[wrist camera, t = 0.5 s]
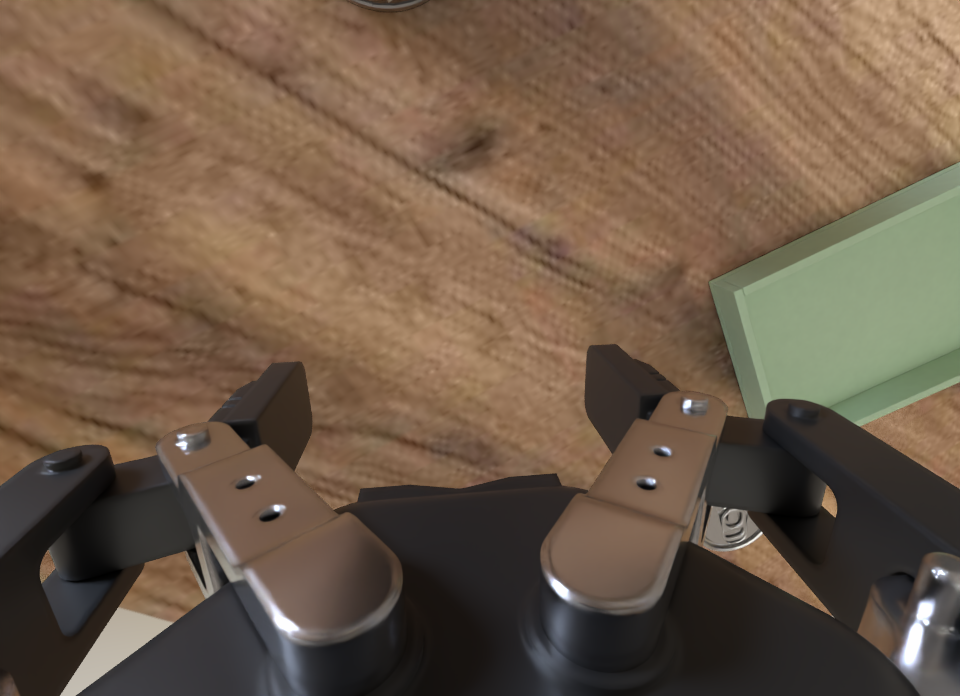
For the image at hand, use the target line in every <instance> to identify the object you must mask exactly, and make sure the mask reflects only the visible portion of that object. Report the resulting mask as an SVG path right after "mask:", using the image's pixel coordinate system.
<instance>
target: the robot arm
mask: <svg viewBox="0 0 960 696" xmlns="http://www.w3.org/2000/svg"><path fill="white" fill-rule="evenodd" d="M347 1H349V2H351V3H353V4H355V5H358V6H360V7H363V8H366V9H370V10H375V11H382V12H397V11H404V10H408V9H412V8H415V7H417V6H420V5H422V4H424V3H426V2H427V1H429V0H347ZM585 408H586V412H587V415H588V418H589V419H590V421H591V422H592V424H593V425H594V427H595V428H596V430H597V431H598V433H599V434H600V436H601V438H602V439H603V441H604V442H605V444H606V445H607V447H608V448H609V450H610V451H611V453H612V456H611V457H610V459H609V460H608V462H607V463H606V465H605V466H604V468H603V470H602V471H601V473H600V474H599V476H598V477H597V479H596V480H595V482H594V483H593V485H592V486H591V488H590V489H589V491H588V490H584V489H580V488H574V487H568V486H562V485H561V483H560V481H559V478H558V476H557V474H543V475H530V476H517V477H508V478H504V479H500V480H496V481H491V482H487V483H483V484H479V485H475V486H471V487H467V488H461V489H455V488H442V487H430V486H418V485H402V486H389V487H376V488H363V489H360V493H359V497H358V502H356V503H352V504H349V505H346V506H343V507H340V508H337V509H335V510H333V509H332V508H331V507H330V506H329V505H328V504H327V503H326V502H325V501H324V500H323V499H322V498H321V497H320V496H319V495H318V494H317V493H316V492H315V491H314V490H313V489H312V488H311V487H310V486H309V485H308V484H307V483H306V482H305V481H303V480H302V479H301V478H300V477H299V476H298V475H297V474H296V473H295V472H294V470H295V468H296V466H297V464H298V462H299V460H300V458H301V455H302V453H303V451H304V449H305V447H306V445H307V443H308V441H309V438H310V436H311V432H312V412H311V405H310V399H309V392H308V386H307V380H306V373H305V369H304V366H303V364H302V362H300V361H299V362H281V363H272V364H271V365H270V366H269V367H268V368H267V370H266V371H265V372H264V373H263V374H262V375H261V376H260V378H259V379H258V380H257V381H252V382H250V383H248V384H246V385H245V386H243V387H241V388H239V389H237V390H236V391H235V393H234V394H233V395H232V396H231V397H230V398H229V400H227V401H226V402H225V403H224V404H223V406H222V408H220V409H219V410H218V411H217V412H216V413H215V414H214V415H213V416H212V417H211V419H210V420H209V421H208V422H202V423H196V424H192V425H188V426H185V427H182V428H179V429H177V430H174V431H172V432H170V433H168V434H167V435H165V436H164V437H162V438H161V439H160V440H159V441H158V442H157V444H156V447H155V448H156V451H157V455H156V456H152V457H148V458H143V459H139V460H134V461H129V462H125V463H120V464H116V465H114V464H113V461H112V458H111V455H110V452H109V449H108V448H107V447H105V446H102V445H83V446H77V447H72V448H67V449H63V450H59V451H56V452H54V453H52V454H49V455H47V456H44V457H42V458H40V459H38V460H36V461H34V462H32V463H31V464H29V465H27V466H26V467H25V468H23V469H22V470H21V471H19V472H18V473H17V474H15V475H14V476H13V477H12V478H10V479H9V480H8V481H6V482H5V483H4V484H2V485H1V486H0V696H60V695H61V693H62V692H63V690H64V688H65V687H66V685H67V684H68V682H69V681H70V679H71V678H72V676H73V675H74V673H75V672H76V670H77V669H78V667H79V666H80V664H81V663H82V661H83V660H84V658H85V657H86V655H87V654H88V652H89V651H90V649H91V648H92V646H93V644H94V643H95V641H96V640H97V638H98V637H99V635H100V634H101V632H102V631H103V629H104V628H105V626H106V625H107V623H108V622H109V620H110V619H111V617H112V616H113V614H114V613H115V611H116V610H117V608H118V607H119V605H120V604H121V602H122V601H123V599H124V598H125V596H126V594H127V593H128V591H129V590H130V588H131V587H132V585H133V584H134V582H135V581H136V579H137V578H138V576H139V575H140V573H141V572H142V570H143V568H144V563H145V562H149V561H152V560H156V559H159V558H162V557H166V556H169V555H173V554H176V553H180V552H183V551H185V554H186V558H187V561H188V563H189V565H190V567H191V569H192V571H193V573H194V575H195V577H196V579H197V582H198V584H199V586H200V588H201V590H202V592H203V594H204V596H205V598H206V599H205V600H204V601H203V602H201V603H200V604H199V605H197V606H196V607H195V608H193V609H192V610H191V611H189V612H188V613H187V614H185V615H184V616H183V617H181V618H180V619H179V620H177V621H176V622H174V623H173V624H172V625H170V626H169V627H168V628H166V629H165V630H164V631H162V632H161V633H160V634H158V635H157V636H156V637H154V638H153V639H152V640H150V641H149V642H148V643H146V644H145V645H144V646H142V647H141V648H139V649H138V650H137V651H135V652H134V653H133V654H131V655H130V656H129V657H127V658H126V659H125V660H123V661H122V662H121V663H119V664H118V665H117V666H115V667H114V668H113V669H111V670H110V671H108V672H107V673H106V674H105V675H103V676H102V677H100V678H99V679H98V680H96V681H95V682H94V683H92V684H91V685H90V686H88V687H87V688H86V689H84V690H83V691H82V692H80V693H79V694H77V695H76V696H960V489H958V488H957V487H955V486H954V485H952V484H950V483H949V482H947V481H946V480H944V479H942V478H941V477H939V476H938V475H936V474H934V473H933V472H931V471H930V470H928V469H926V468H925V467H923V466H922V465H920V464H918V463H917V462H915V461H914V460H912V459H910V458H909V457H907V456H906V455H904V454H902V453H901V452H899V451H898V450H896V449H894V448H893V447H891V446H890V445H888V444H886V443H885V442H883V441H882V440H880V439H878V438H877V437H875V436H874V435H872V434H870V433H869V432H867V431H866V430H864V429H862V428H861V427H859V426H858V425H856V424H854V423H853V422H851V421H850V420H848V419H846V418H845V417H843V416H842V415H840V414H838V413H837V412H835V411H833V410H832V409H830V408H827V407H825V406H822V405H820V404H817V403H813V402H811V401H807V400H800V399H776V400H772V401H770V402H768V404H767V406H766V412H765V417H764V419H755V418H743V417H733V416H727V411H728V407H727V405H726V404H725V403H724V402H723V401H721V400H720V399H718V398H716V397H714V396H711V395H708V394H704V393H700V392H694V391H680V390H679V389H678V388H676V387H675V386H674V385H673V384H672V383H671V382H669V381H668V380H666V378H665V377H663V376H662V375H661V374H659V372H658V371H656V370H655V369H654V368H653V367H652V366H650V365H649V364H646V363H644V362H641V361H639V360H636V359H632V358H631V357H630V356H629V355H628V354H627V353H626V352H624V351H623V350H622V349H621V348H620V347H619V346H618V345H616V344H609V345H591V346H589V348H588V351H587V360H586V379H585ZM826 485H828V486H829V487H830V489H831V490H832V492H833V493H834V495H835V498H836V501H837V515H836V518H835V517H834V516H832V515H831V514H830V513H829V512H828V511H827V510H826V509H825V508H824V507H823V506H821V505H822V501H823V497H824V493H825V489H826ZM712 506H715V507H723V508H731V509H738V510H746V511H747V513H748V515H749V517H750V518H751V520H752V521H753V522H754V523H755V524H756V526H757V527H758V528H759V529H760V530H761V531H762V533H763V534H764V535H765V536H766V537H767V539H768V540H769V541H770V542H771V543H772V544H773V546H774V547H775V548H776V549H777V550H778V552H779V553H780V554H781V555H782V556H783V557H784V559H785V560H786V561H787V562H788V563H789V564H790V566H791V567H792V568H793V569H794V570H795V572H796V573H797V574H798V575H799V576H800V577H801V579H802V580H803V581H804V582H805V583H806V585H807V586H808V587H809V588H810V589H811V590H812V592H813V593H814V594H815V595H816V596H817V598H818V599H819V600H820V601H821V602H822V603H823V605H824V606H825V607H826V608H827V609H828V610H829V612H830V613H831V614H832V615H833V616H834V618H833V617H832V616H830V615H828V614H826V613H825V612H823V611H821V610H819V609H817V608H815V607H813V606H811V605H809V604H808V603H806V602H804V601H802V600H800V599H798V598H796V597H794V596H793V595H791V594H789V593H787V592H785V591H783V590H781V589H779V588H778V587H776V586H774V585H772V584H770V583H768V582H766V581H764V580H762V579H761V578H759V577H757V576H755V575H753V574H751V573H749V572H747V571H746V570H744V569H742V568H740V567H738V566H736V565H734V564H732V563H730V562H729V561H727V560H725V559H723V558H721V557H719V556H717V555H715V554H714V553H712V552H710V551H708V550H706V549H704V548H703V544H704V540H705V536H706V532H707V528H708V524H709V520H710V517H711V512H712ZM47 550H49V552H50V555H51V557H52V560H53V562H54V565H55V567H56V569H55V570H54V571H53V572H52V573H51V574H50V575H49V576H48V578H47V579H46V580H45V581H44V582H43V583H42V584H41V581H40V565H41V562H42V559H43V557H44V555H45V553H46V552H47Z"/></svg>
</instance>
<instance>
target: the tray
mask: <svg viewBox="0 0 960 696" xmlns="http://www.w3.org/2000/svg"><path fill="white" fill-rule="evenodd" d="M709 286H710V289H711V292H712V296H713V299H714V303H715V306H716V309H717V313H718V316H719V319H720V323H721V326H722V329H723V333H724V336H725V340H726V343H727V346H728V350H729V353H730V356H731V360H732V363H733V366H734V370H735V373H736V376H737V380H738V383H739V387H740V390H741V393H742V397H743V400H744V403H745V407H746V410H747V413H748V417H749V418H755V419H764V417H765V412H766V406H767V404H768V402H770V401H772V400H776V399H800V400H807V401H811V402H813V403H817V404H820V405H822V406H825V407H827V408H830V409H832V410H833V411H835V412H837V413H838V414H840V415H842V416H843V417H845V418H846V419H848V420H850V421H851V422H853V423H854V424H856V425H858V426H859V427H860V426H862V425H864V424H866V423H869V422H871V421H873V420H875V419H878V418H880V417H882V416H884V415H887V414H889V413H891V412H893V411H896V410H898V409H900V408H902V407H905V406H907V405H909V404H911V403H914V402H916V401H918V400H920V399H923V398H925V397H927V396H929V395H932V394H934V393H936V392H938V391H941V390H943V389H945V388H947V387H950V386H952V385H954V384H956V383H959V382H960V162H958V163H956V164H954V165H952V166H950V167H948V168H946V169H944V170H942V171H939V172H937V173H935V174H933V175H931V176H929V177H927V178H925V179H923V180H921V181H919V182H916V183H914V184H912V185H910V186H908V187H906V188H904V189H902V190H900V191H898V192H896V193H893V194H891V195H889V196H887V197H885V198H883V199H881V200H879V201H877V202H875V203H872V204H870V205H868V206H866V207H864V208H862V209H860V210H858V211H856V212H854V213H852V214H849V215H847V216H845V217H843V218H841V219H839V220H837V221H835V222H833V223H831V224H829V225H826V226H824V227H822V228H820V229H818V230H816V231H814V232H812V233H810V234H808V235H805V236H803V237H801V238H799V239H797V240H795V241H793V242H791V243H789V244H787V245H785V246H782V247H780V248H778V249H776V250H774V251H772V252H770V253H768V254H766V255H764V256H762V257H759V258H757V259H755V260H753V261H751V262H749V263H747V264H745V265H743V266H741V267H738V268H736V269H734V270H732V271H730V272H728V273H726V274H724V275H722V276H720V277H718V278H715V279H713V280H711V281H709Z"/></svg>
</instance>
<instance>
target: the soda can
mask: <svg viewBox="0 0 960 696" xmlns="http://www.w3.org/2000/svg"><path fill="white" fill-rule="evenodd" d="M762 534H763V533H762V531H761V530H760V529H759V528H758V527H757V526H756V524H755V523H754V522H753V521H752V520H751V518H750V517H749V515H748V513H747V511H746V510H738V509H731V508H723V507H715V506H712V512H711V517H710V520H709V524H708V528H707V532H706V536H705V540H704V544H703V546H705V547H706V548H708V549H711V550H715V551H723V552H724V551H733V550H737V549H740V548H743V547H745V546H747V545H749V544H751V543H752V542H754V541H755V540H757V539H758V538H759V537H760V536H761V535H762Z"/></svg>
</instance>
